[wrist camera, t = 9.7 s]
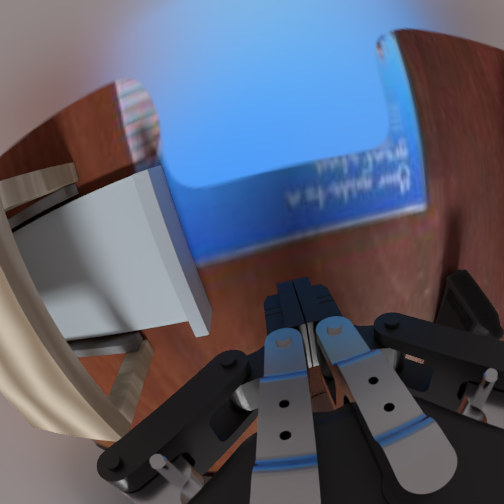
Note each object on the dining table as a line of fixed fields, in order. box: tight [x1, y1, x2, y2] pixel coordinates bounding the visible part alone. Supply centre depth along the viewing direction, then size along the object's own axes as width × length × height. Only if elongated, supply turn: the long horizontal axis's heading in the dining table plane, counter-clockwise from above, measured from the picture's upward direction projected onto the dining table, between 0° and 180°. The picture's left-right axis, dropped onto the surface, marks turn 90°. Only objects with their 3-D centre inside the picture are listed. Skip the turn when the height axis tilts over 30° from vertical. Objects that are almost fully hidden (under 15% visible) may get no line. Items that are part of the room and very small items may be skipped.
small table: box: [0, 162, 154, 441], centre depth 19 cm, size 14×21×12 cm, turn 14°
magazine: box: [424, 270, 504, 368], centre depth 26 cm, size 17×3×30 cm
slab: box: [12, 165, 213, 341], centre depth 22 cm, size 20×14×4 cm
